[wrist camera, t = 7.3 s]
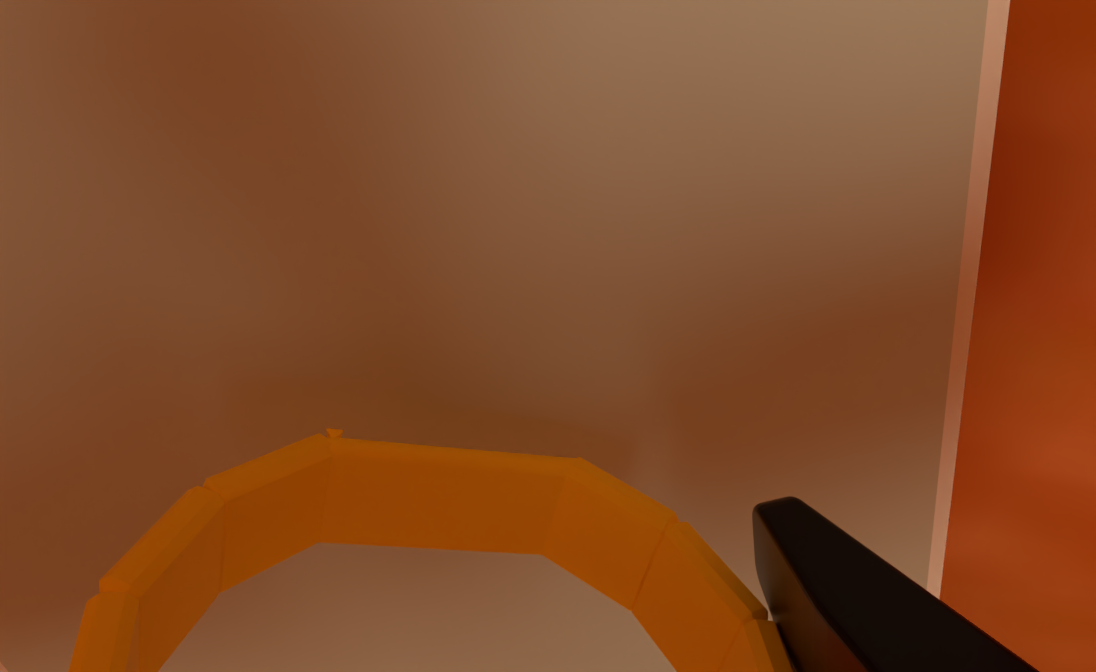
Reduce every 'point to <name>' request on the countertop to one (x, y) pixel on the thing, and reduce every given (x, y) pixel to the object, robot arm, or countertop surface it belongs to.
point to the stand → (479, 289)
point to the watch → (426, 545)
